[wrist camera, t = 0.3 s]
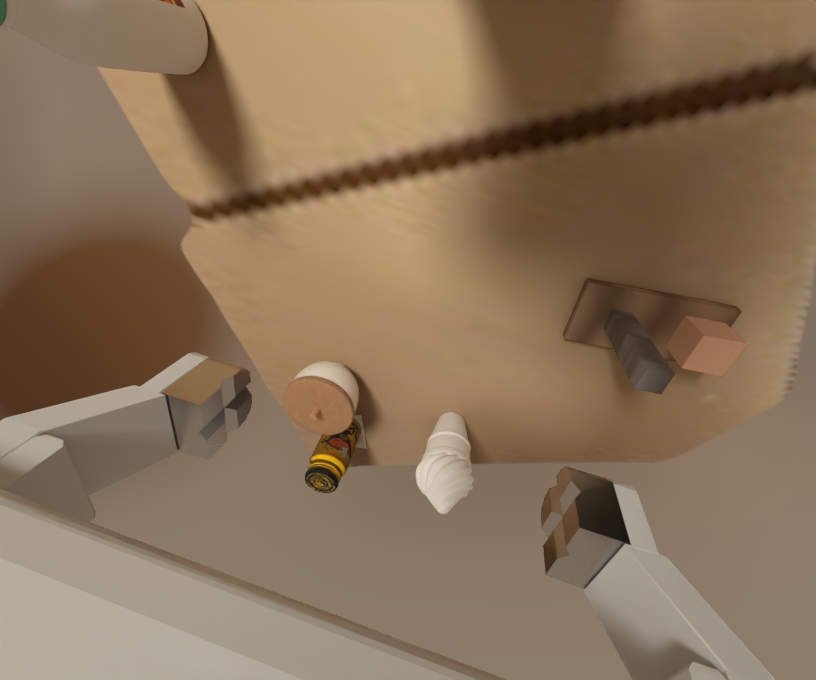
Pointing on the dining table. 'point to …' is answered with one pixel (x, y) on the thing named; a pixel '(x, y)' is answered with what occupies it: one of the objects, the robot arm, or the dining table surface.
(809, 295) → the dining table surface
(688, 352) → the terracotta block
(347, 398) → the lidded jar
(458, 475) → the soft serve ice cream cone
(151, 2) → the milk bottle
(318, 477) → the condiment
